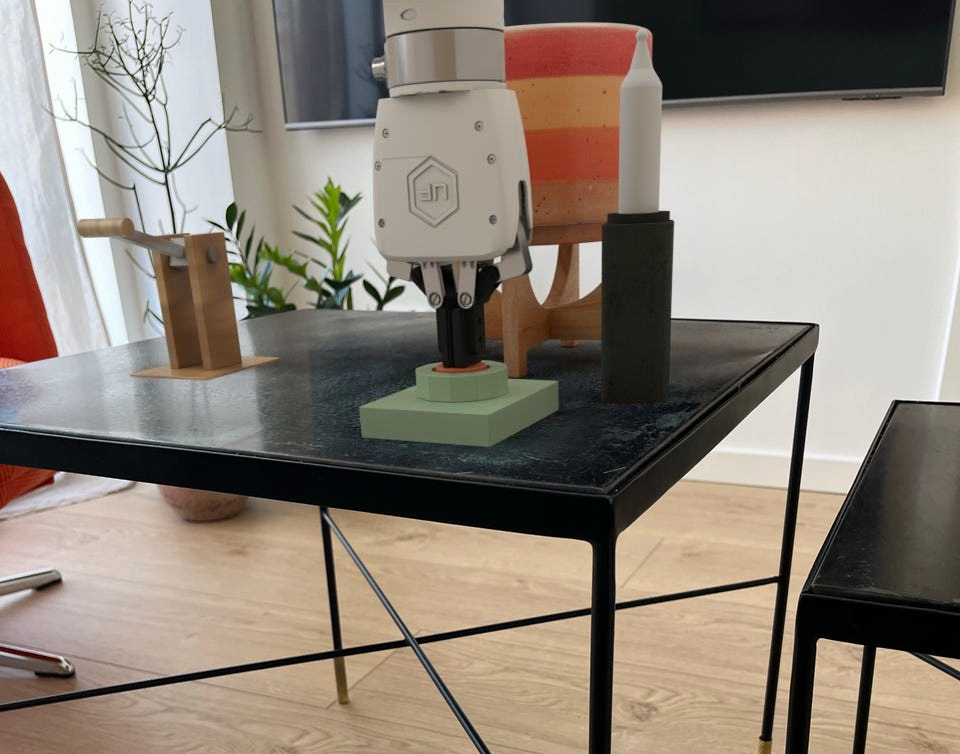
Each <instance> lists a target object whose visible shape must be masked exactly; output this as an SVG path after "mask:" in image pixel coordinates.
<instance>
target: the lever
mask: <svg viewBox="0 0 960 754" xmlns="http://www.w3.org/2000/svg"><path fill="white" fill-rule="evenodd" d="M76 231H77V234H78V235H79V236H80V237H82V238H83V239H94V238H95V239H97V238H99V239H100V238H111V239H115V240H117V241H121V242H124V243H127V244H130V245H134V246H137V247H140V248H143V249H146V250H148V251H151V250H152V251H155V252H158V253H162V254H165V255H168V256H170V266H172V267H175V268H178V269H182V270H185V271H188V272H189V269H188V262H187V256H186V249H185V243H184V238H171V239H170V241H167V240H164V239H161V238H158V237H155V236H156V235H153V234H149V233H146V232H144V231H140V230H137V229H136V228H135V224H134V221H133V220H132V219H131V218H129V217H104V218H103V217H102V218H81V219H79V220H78V221H77V223H76Z"/></svg>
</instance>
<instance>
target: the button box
mask: <svg viewBox="0 0 960 754" xmlns="http://www.w3.org/2000/svg"><path fill="white" fill-rule="evenodd" d="M481 362H483V363H485V364H486V370H483V371H477V372H470V373H439V372H436V366H437V365H439V364H442V361H440V362H433V363H428V364H424V365H422V366H419V367H416V368H415V385H413V386H410V387H408V388H405V389H402V390H400V391H397V392H395V393H392V394H389V395H387V396H384V397H382V398H379V399H376V400H373V401H370V402H369V403H366V404H363V405H360V406H358V409H359V410H358V411H359V418H360V419H359V420H360V421H359V422H360V429H361V430H360V431H361V438H363V439H379V440H390V441H391V440H392V441H405V442H415V443H432V444H444V445H457V446H471V447H484V448H491V447H493V446H495V445H496V444H498V443H500V442H502V441H504V440H506V439H508V438H509V437H511V436H514V435H515V434H516V433H518V432H520V431H523V430H524V429H526V428H528V427H529V426H532V425H534V424H536V423H537V422H539V421H541V420H543V419H544V418H546V417H548V416H550V415H552V414H554V413H556V412H557V411H559V409H560V408H559V404H560V403H559V381H558V380H547V379H546V380H545V379H525V378H523V379H521V378H508V368H507V366H506V364H505V363H504V362H499V361H494V360H486V359H485V360H483V359H482V361H481Z"/></svg>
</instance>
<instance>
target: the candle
mask: <svg viewBox="0 0 960 754" xmlns="http://www.w3.org/2000/svg"><path fill="white" fill-rule="evenodd" d="M647 38H648V33H647V31H646V30H645V29H640V30H639V31H638V32H637V34H636V39H637V45H636V48H635V52H634V56H633V59H632V63H631V67H630V70H629V72H628V74H627V76H626V77H625V79H624V81H623V83H622V85H621V87H620V130H619V212H618V213H608V214H607V223H605V224H603V225H602V241H601V282H602V285H601V340H600V401H601V402H602V403H606V404H660V403H665V402H667V401H668V394H669V393H670V390H669V389H670V365H671V364H670V363H671V362H670V361H671V335H672V334H671V333H672V332H671V330H672V301H673V274H674V273H673V271H674V270H673V269H674V267H673V266H674V246H675V245H674V243H675V242H674V239H675V220H674V219H671V210H660V187H661V185H660V183H661V147H662V114H663V113H662V110H663V109H662V108H663V84H662V81H661V79H660V77H659V76H658V74H657V72H656V71H655V69H654V66H653V60H652V61H651V57H650V53H649V49H648V45H647Z"/></svg>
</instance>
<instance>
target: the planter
mask: <svg viewBox="0 0 960 754" xmlns="http://www.w3.org/2000/svg"><path fill="white" fill-rule="evenodd" d="M504 28H505V32H504V34H505V56H506V87H507V89H508V90H513V91H515V93H516V97H517V101H518V105H519V110H520V115H521V120H522V125H523V130H524V136H525V142H526V149H527V156H528V164H529V174H530V184H531V198H532V219H533V228H532V240H531V244H530V246H529V247H542V246H543V247H544V246H558V247H557V258H556V264H555V270H554V275H553V279H552V283H551V286H550V289H549V291H548V294H547V297H546V298H545V299H544V301H543V302H542V304H541V303H540V302H539V301H538V299H537V297H536V294H535V292H534V289H533V285H532V283H531V279H530V273H528V274H525V275H522V276H519V277H515V278H512V279H509V280H505V281H503V282H502V283H501V284H500V286H501V291H499V290H498V288H497V289H496V290H495V291H494V293H493V294H492V295H491V298H490V300H489V302H488V303H486V304H484V317H485V340H502V341H503V363H505V364H506V366H507V368H508V379H521V378H524V377H525V376H527V375H528V352H529V351H530V350H532V349H534V348H536V347H538V346H540V345H542V344H544V343H546V342H547V341H550V340H551V341H552V340H553V341H560V346H561V347H569V348H570V347H571V348H573V347H576V346H578V345H580V341H601V285H602V281H600V283H599V284H598V285H597V286H596V287H595V288H594V289H593V290H592V291H590V292H589V293H588V294H586V295H585V296H583V297H581V298H580V244H588V243H600V242H602V225H603V224H605V223H607V214H608V213H618V212H619V130H620V87H621V85H622V83H623V81H624V79H625V77H626V76H627V74H628V72H629V70H630V67H631V63H632V59H633V56H634V52H635V48H636V45H637V39H636V34H637V32H638V31H639V30H640V29H645V30H646V31H647V33H648V38H647V45H648V49H649V53H650V57H651V61H652V62H653V34H652V32H651V31H650V30H649V29H648V28H646V27H642V26H639V25H635V24H627V23H619V22H618V23H616V22H551V23H536V24H535V23H533V24H521V25H520V24H519V25H509V26H504ZM504 257H505V256H500V262H501V261H502V260H503V259H504ZM455 265H456V271H457V277H458V282H459V275H460V261H455Z"/></svg>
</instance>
